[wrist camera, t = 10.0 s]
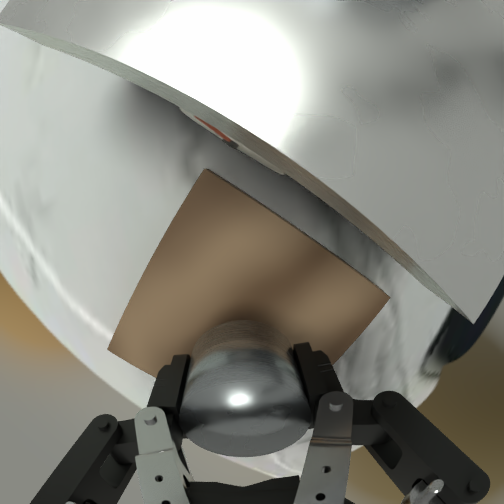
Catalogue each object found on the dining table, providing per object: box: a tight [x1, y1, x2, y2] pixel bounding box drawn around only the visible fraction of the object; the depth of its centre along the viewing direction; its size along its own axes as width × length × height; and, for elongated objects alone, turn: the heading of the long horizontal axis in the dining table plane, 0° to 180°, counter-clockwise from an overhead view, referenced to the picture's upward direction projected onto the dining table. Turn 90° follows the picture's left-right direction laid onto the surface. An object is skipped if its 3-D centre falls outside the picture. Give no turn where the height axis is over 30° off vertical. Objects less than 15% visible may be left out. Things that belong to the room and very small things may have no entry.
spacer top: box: [179, 320, 312, 457], centre depth 11 cm, size 5×5×4 cm
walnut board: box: [107, 169, 390, 378], centre depth 16 cm, size 13×13×2 cm
